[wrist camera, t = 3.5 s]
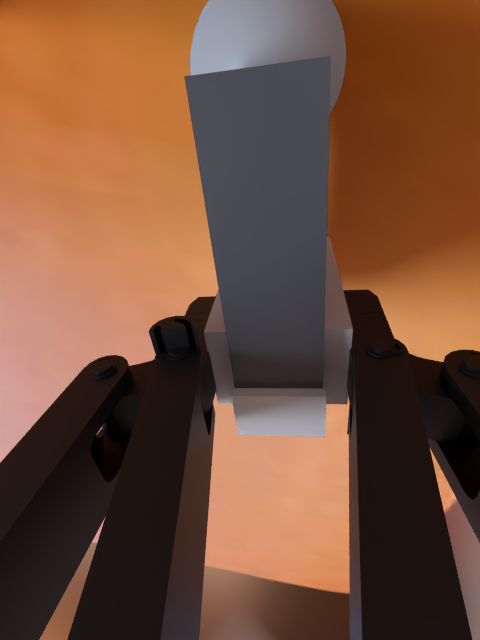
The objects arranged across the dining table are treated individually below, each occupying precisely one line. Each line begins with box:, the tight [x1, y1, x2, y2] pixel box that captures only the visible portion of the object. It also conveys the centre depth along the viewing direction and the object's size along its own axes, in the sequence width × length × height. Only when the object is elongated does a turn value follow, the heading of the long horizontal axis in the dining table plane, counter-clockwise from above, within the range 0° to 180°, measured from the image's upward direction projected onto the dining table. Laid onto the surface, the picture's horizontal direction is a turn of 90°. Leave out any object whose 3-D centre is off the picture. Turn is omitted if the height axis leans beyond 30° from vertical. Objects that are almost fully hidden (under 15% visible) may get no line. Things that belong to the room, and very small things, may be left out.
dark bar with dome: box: [184, 0, 346, 437], centre depth 11 cm, size 11×4×8 cm, turn 6°
